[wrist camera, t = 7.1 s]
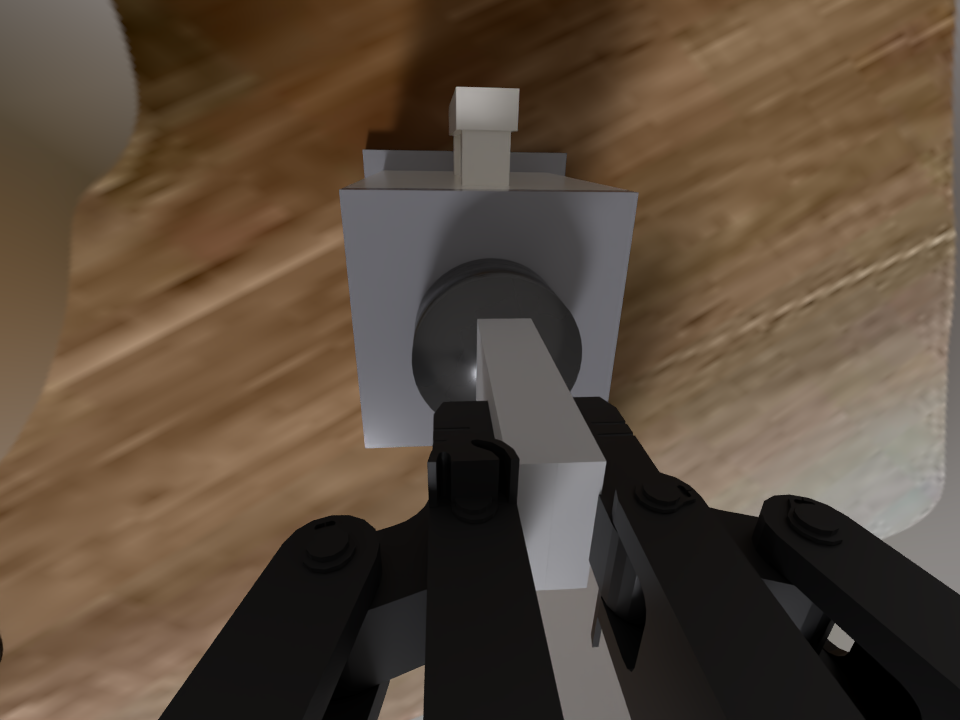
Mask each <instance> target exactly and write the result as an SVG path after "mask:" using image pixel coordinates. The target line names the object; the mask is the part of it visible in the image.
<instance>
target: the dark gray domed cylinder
mask: <svg viewBox="0 0 960 720" xmlns="http://www.w3.org/2000/svg"><path fill="white" fill-rule="evenodd" d="M518 318H531V319H532V321H533V323H534V325H535V327H536V329H537V331H538V333H539V334H540V336H541V338H542V340H543V342H544V344H545V346H546V348H547V350H548V352H549V353H550V355H551V357H552V359H553V361H554V363H555V365H556V367H557V369H558V371H559V372H560V374H561V376H562V378H563V380H564V382H565V384H566V386H567V388H568V390H569V391H571V390H572V388H573V386H574V384H575V382H576V380H577V377H578V374H579V371H580V367H581V361H582V342H581V336H580V332H579V329H578V326H577V324H576V321H575V319H574V317H573V316H572V314H571V312H570V311H569V309H568V308H567V307H566V306H565V305H564V303H563V302H562V301H561V300H560V298H559V297H558V296H557V295H556V294H555V292H554V291H553V290H552V289H551V288H550V286H549V285H548V284H547V283H546V282H545V280H544V279H542V278H541V277H540V276H539V275H538V274H537V273H535V272H534V271H533V270H531V269H530V268H528V267H526V266H524V265H522V264H519V263H516V262H513V261H510V260H505V259H496V258H487V259H478V260H473V261H469V262H466V263H463V264H461V265H459V266H457V267H455V268H453V269H451V270H449V271H448V272H446V273H445V274H443V275H442V276H441V277H440V278H439V279H438V280H437V281H436V282H435V283H434V284H433V285H432V286H431V287H430V288H429V290H428V291H427V293H426V294H425V296H424V298H423V300H422V302H421V304H420V306H419V309H418V312H417V316H416V322H415V330H414V339H413V348H412V370H413V376H414V379H415V383H416V386H417V388H418V390H419V392H420V394H421V396H422V397H423V399H424V401H425V402H426V403H427V404H428V406H429V407H430V408H431V409H432V410H433V411H434V412H436V410H437V409H438V408H439V406H440V405H441V404H442V403H443V402H451V401H476V371H477V319H518Z"/></svg>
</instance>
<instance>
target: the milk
mask: <svg viewBox="0 0 960 720" xmlns="http://www.w3.org/2000/svg"><path fill="white" fill-rule="evenodd" d="M598 589H599V588H598V585H597V582H596V579H595V576H594V574H593V571H592V568H591V565H590V570H589V577H588V583H587V588H577V589H559V590H537V591H536V594H537V598H538V603H539V607H540V612H541V616H542V621H543V626H544V630H545V635H546V639H547V644H548V648H549V653H550V658H551V662H552V667H553V671H554V676H555V681H556V685H557V690H558V694H559V699H560V703H561V708H562V713H563V717H564V720H631V718H630V715H629V712H628V708H627V705H626V702H625V699H624V696H623V693H622V690H621V687H620V684H619V681H618V678H617V675H616V672H615V669H614V666H613V663H612V660H611V657H610V654H609V651H608V647H607V644H606V641H605V638H604V635H603V632H602V631H601V636H600V642H599V647H592V641H591V630H592V624H593V619H594V613H595V607H596V601H597V595H598Z"/></svg>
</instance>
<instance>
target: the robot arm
mask: <svg viewBox="0 0 960 720" xmlns="http://www.w3.org/2000/svg"><path fill="white" fill-rule="evenodd" d="M427 464H428V491H429V500H428V502H427V504H426V505H425V507H424V508H423V509H422V510H421V511H420V512H419V513H418V514H416V515H415V516H413V517H412V518H410V519H409V520H407V521H405V522H402V523H400V524H397V525H395V526H392V527H388V528H385V529H382V530H378V531H376V530H375V529H374V528H373V527H372V526H371V525H370V524H369V523H368V522H366V521H365V520H363V519H360V518H357V517H353V516H350V515H331V516H328V517H324V518H321V519H317V520H313V521H311V522H310V523H308V524H306V525H304V526H303V527H301V528H299V529H297V530H296V531H295V532H294V533H293V534H292V535H291V536H290V537H289V538H288V539H287V540H286V541H285V542H284V543H283V544H282V546H281V547H280V548H279V550H278V551H277V553H276V554H275V555H274V557H273V558H272V560H271V561H270V563H269V564H268V565H267V567H266V568H265V570H264V571H263V572H262V574H261V575H260V577H259V578H258V579H257V581H256V582H255V584H254V585H253V587H252V588H251V589H250V591H249V592H248V594H247V595H246V596H245V598H244V599H243V601H242V602H241V603H240V605H239V606H238V608H237V609H236V610H235V612H234V613H233V615H232V616H231V618H230V619H229V620H228V622H227V623H226V625H225V626H224V627H223V629H222V630H221V632H220V633H219V634H218V636H217V637H216V639H215V640H214V642H213V643H212V644H211V646H210V647H209V649H208V650H207V651H206V653H205V654H204V656H203V657H202V658H201V660H200V661H199V663H198V664H197V666H196V667H195V668H194V670H193V671H192V673H191V674H190V675H189V677H188V678H187V680H186V681H185V682H184V684H183V685H182V687H181V688H180V689H179V691H178V692H177V694H176V695H175V697H174V698H173V699H172V701H171V702H170V704H169V705H168V706H167V708H166V709H165V711H164V712H163V713H162V715H161V716H160V718H159V719H158V720H377V719H378V716H379V713H380V710H381V707H382V704H383V701H384V698H385V695H386V692H387V689H388V686H389V682H390V679H392V678H395V677H397V676H399V675H402V674H404V673H406V672H409V671H411V670H414V669H416V668H418V667H421V666H423V665H425V680H424V717H423V720H564V717H563V713H562V708H561V703H560V699H559V694H558V690H557V685H556V681H555V676H554V671H553V667H552V662H551V658H550V653H549V648H548V644H547V639H546V635H545V630H544V626H543V621H542V616H541V612H540V607H539V603H538V598H537V594H536V591H537V590H559V589H577V588H587V583H588V577H589V570H590V565H591V568H592V571H593V574H594V576H595V579H596V582H597V585H598V588H599V589H598V595H597V601H596V607H595V613H594V619H593V624H592V630H591V641H592V647H599V642H600V636H601V631H602V632H603V635H604V638H605V641H606V644H607V647H608V651H609V654H610V657H611V660H612V663H613V666H614V669H615V672H616V675H617V678H618V681H619V684H620V687H621V690H622V693H623V696H624V699H625V702H626V705H627V708H628V712H629V715H630V718H631V720H960V595H959V594H958V593H956V592H955V591H954V590H952V589H951V588H949V587H948V586H946V585H945V584H944V583H942V582H941V581H939V580H938V579H936V578H935V577H933V576H932V575H931V574H929V573H928V572H926V571H925V570H923V569H922V568H921V567H919V566H918V565H916V564H915V563H913V562H912V561H911V560H909V559H908V558H906V557H905V556H903V555H902V554H901V553H899V552H898V551H896V550H895V549H893V548H892V547H891V546H889V545H888V544H886V543H884V542H883V541H882V540H880V539H879V538H878V537H876V536H875V535H873V534H872V533H870V532H869V531H868V530H866V529H865V528H863V527H862V526H860V525H859V524H858V523H856V522H855V521H853V520H852V519H850V518H849V517H847V516H846V515H844V514H842V513H841V512H839V511H837V510H835V509H834V508H832V507H830V506H828V505H826V504H823V503H821V502H818V501H815V500H813V499H810V498H806V497H800V496H795V495H777V496H773V497H771V498H769V499H767V500H765V501H764V503H763V506H762V509H761V512H760V515H759V517H755V516H749V515H744V514H739V513H733V512H728V511H723V510H718V509H714V508H710V507H708V505H707V504H706V503H705V501H704V500H703V498H702V497H701V496H700V495H699V494H698V493H697V492H696V491H695V490H694V489H693V488H692V487H691V486H690V485H688V484H686V483H684V482H683V481H681V480H679V479H677V478H676V477H673V476H669V475H666V474H663V473H660V472H659V471H658V469H657V468H656V466H655V465H654V463H653V462H652V460H651V459H650V457H649V456H648V454H647V453H646V451H645V450H644V448H643V447H642V445H641V444H640V442H639V441H638V440H637V438H636V437H635V436H633V432H632V431H631V429H630V428H629V426H628V425H627V424H625V420H624V419H623V417H622V416H621V414H620V413H619V411H618V410H617V408H616V407H614V406H613V405H611V404H610V403H608V402H607V401H605V400H604V399H602V398H601V397H600V396H599V397H572V395H571V393H570V391H569V390H568V388H567V386H566V384H565V382H564V380H563V378H562V376H561V374H560V372H559V371H558V369H557V367H556V365H555V363H554V361H553V359H552V357H551V355H550V353H549V352H548V350H547V348H546V346H545V344H544V342H543V340H542V338H541V336H540V334H539V333H538V331H537V329H536V327H535V325H534V323H533V321H532V319H531V318H518V319H477V371H476V401H451V402H443V403H442V404H441V405H440V406H439V408H438V409H437V410H436V412H435V413H434V416H433V450H432V451H431V454H430V457H429V459H428V462H427ZM835 623H836V624H837V625H838V626H839V627H840V628H841V629H842V630H843V631H845V632H846V633H847V634H848V635H849V636H850V637H851V638H852V639H854V641H855V642H854V644H853V646H852V648H851V650H850V652H847V651H844V650H842V649H839V648H838V647H836V646H835V645H834V644H833V643H831V642H830V641H829V640H828V639H827V638H828V636H829V634H830V632H831V630H832V628H833V626H834V624H835ZM0 660H1V647H0Z"/></svg>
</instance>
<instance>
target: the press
mask: <svg viewBox="0 0 960 720" xmlns="http://www.w3.org/2000/svg"><path fill="white" fill-rule="evenodd" d="M518 110H519V89H516V88H481V87H456V88H455V91H454V94H453V97H452V100H451V103H450V106H449V136H453V151H415V150H363V161H364V174H365V179H362V180H360V181H358V182H356V183H353V184H351V185H349V186H346V187H344V188H342V189H340V190H339V194H340V204H341V214H342V224H343V233H344V243H345V253H346V263H347V273H348V283H349V292H350V302H351V312H352V322H353V332H354V342H355V351H356V361H357V371H358V381H359V391H360V401H361V410H362V420H363V430H364V440H365V448H383V447H410V446H433V416H434V413H435V412H434V411H433V410H432V409H431V408H430V407H429V406H428V404H427V403H426V402H425V401H424V399H423V397H422V396H421V394H420V392H419V390H418V388H417V386H416V383H415V379H414V376H413V370H412V348H413V339H414V330H415V322H416V316H417V312H418V309H419V306H420V304H421V302H422V300H423V298H424V296H425V294H426V293H427V291H428V290H429V288H430V287H431V286H432V285H433V284H434V283H435V282H436V281H437V280H438V279H439V278H440V277H441V276H442V275H443V274H445V273H446V272H448V271H449V270H451V269H453V268H455V267H457V266H459V265H461V264H463V263H466V262H469V261H473V260H478V259H487V258H496V259H505V260H510V261H513V262H516V263H519V264H522V265H524V266H526V267H528V268H530V269H531V270H533V271H534V272H535V273H537V274H538V275H539V276H540V277H541V278H542V279H544V280H545V282H546V283H547V284H548V285H549V286H550V288H551V289H552V290H553V291H554V292H555V294H556V295H557V296H558V297H559V298H560V300H561V301H562V302H563V303H564V305H565V306H566V307H567V308H568V309H569V311H570V312H571V314H572V316H573V317H574V319H575V321H576V324H577V326H578V329H579V332H580V336H581V342H582V361H581V367H580V371H579V374H578V377H577V380H576V382H575V384H574V386H573V388H572V390H571V391H570V393H571V395H572V397H599V396H600V397H601V398H602V399H604V400H605V401H607V402H608V398H609V391H610V385H611V378H612V371H613V364H614V357H615V350H616V344H617V337H618V330H619V323H620V316H621V309H622V303H623V296H624V289H625V282H626V275H627V269H628V262H629V255H630V248H631V241H632V234H633V228H634V221H635V214H636V207H637V200H638V192H634V191H629V190H625V189H620V188H616V187H611V186H606V185H602V184H597V183H593V182H588V181H584V180H579V179H575V178H570V177H565V169H566V157H567V153H534V152H510V146H511V132H514V131H518Z"/></svg>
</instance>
